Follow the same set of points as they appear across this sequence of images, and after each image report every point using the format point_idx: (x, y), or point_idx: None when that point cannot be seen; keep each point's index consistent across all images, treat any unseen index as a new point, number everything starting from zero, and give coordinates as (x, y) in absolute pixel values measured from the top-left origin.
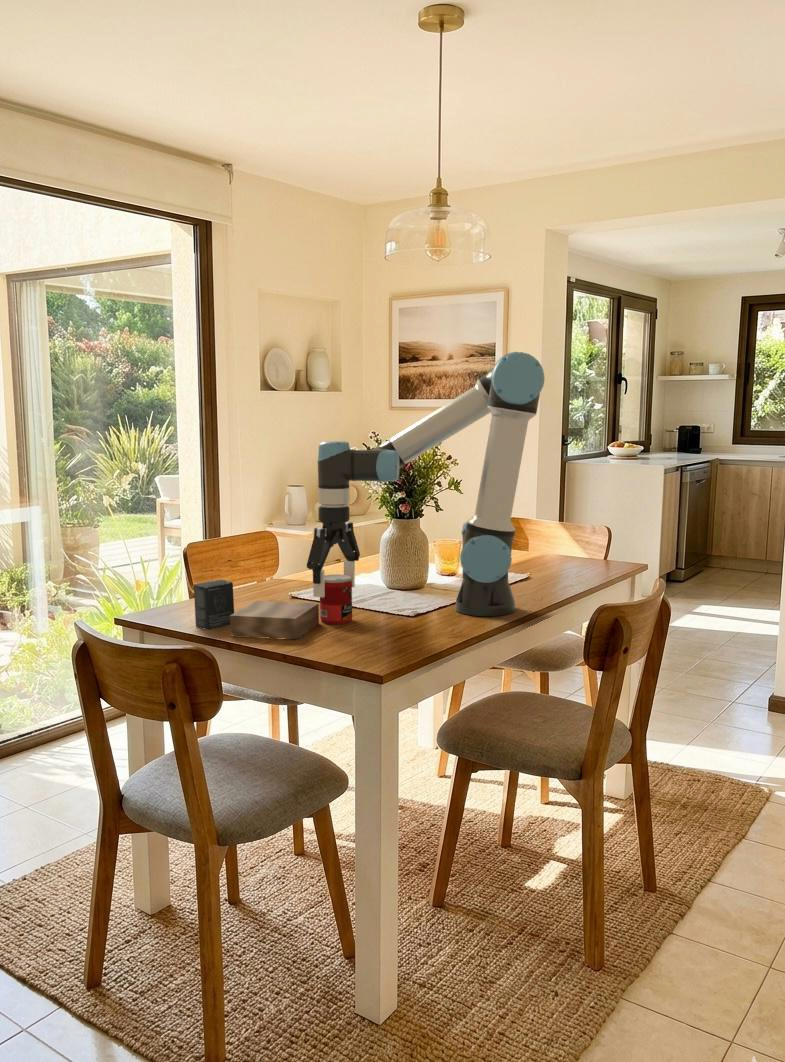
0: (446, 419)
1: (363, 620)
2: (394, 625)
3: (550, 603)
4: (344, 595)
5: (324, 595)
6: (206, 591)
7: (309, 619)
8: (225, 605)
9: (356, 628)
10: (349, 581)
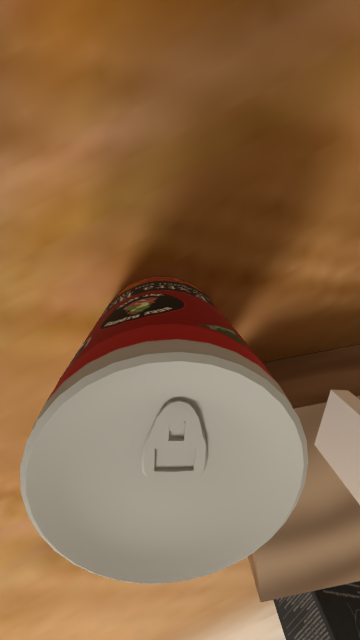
0: None
1: (107, 239)
2: (133, 35)
3: None
4: (219, 319)
5: (336, 394)
6: None
7: (338, 371)
8: (353, 625)
9: (244, 205)
10: (183, 338)
